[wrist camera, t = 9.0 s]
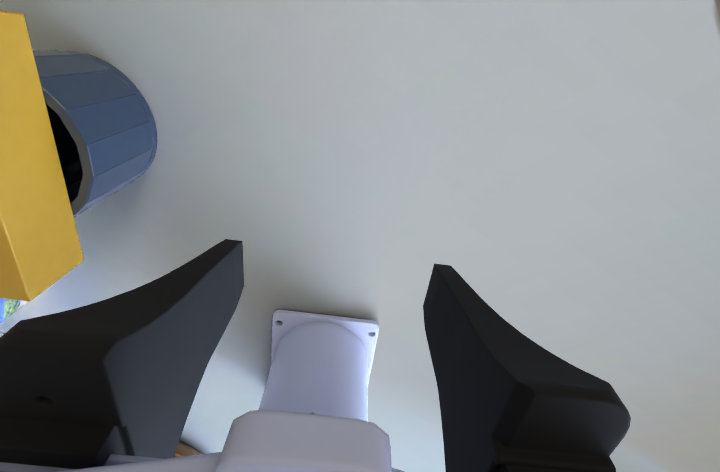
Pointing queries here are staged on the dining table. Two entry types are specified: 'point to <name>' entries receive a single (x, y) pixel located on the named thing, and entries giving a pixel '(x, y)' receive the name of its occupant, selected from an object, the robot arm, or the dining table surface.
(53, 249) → the yellow rectangular block
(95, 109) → the cup
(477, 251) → the dining table surface
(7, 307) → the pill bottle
